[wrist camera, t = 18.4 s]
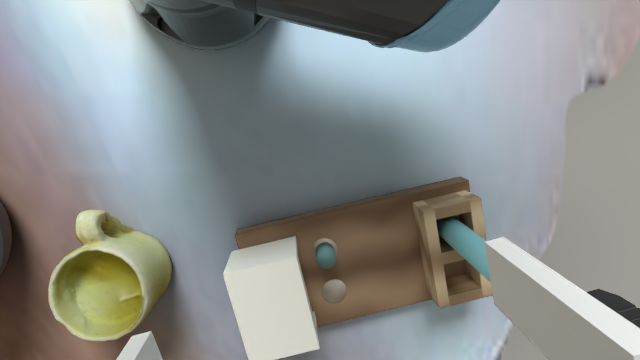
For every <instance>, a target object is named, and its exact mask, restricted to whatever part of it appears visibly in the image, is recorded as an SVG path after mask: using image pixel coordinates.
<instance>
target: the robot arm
mask: <svg viewBox="0 0 640 360" xmlns="http://www.w3.org/2000/svg"><path fill="white" fill-rule="evenodd" d="M130 1H131V3H132V4H133V6H134V7H135V9H136V10H137V11H138V13H139V14H140V15H141V16H142V17H143V18H144V19H145V20H146V21H147V22H148V23H149V24H150V25H151V26H152V27H153V28H155V29H156V30H157V31H159V32H160V33H162V34H163V35H165V36H167V37H168V38H170V39H172V40H174V41H176V42H178V43H181V44H183V45H186V46H189V47H192V48H197V49H204V50H217V49H224V48H229V47H232V46H235V45H238V44H240V43H242V42H244V41H246V40H248V39H249V38H251V37H252V36H254V35H255V34H256V33H257V32H258V31H260V30H261V29H262V28H263V27H264V25H265V24H266V23H267V22H268V20H269V19H270V18H273V19H277V20H282V21H286V22H290V23H294V24H298V25H302V26H307V27H311V28H315V29H319V30H323V31H328V32H332V33H336V34H340V35H344V36H349V37H353V38H357V39H361V40H365V41H368V42H369V43H370V44H372V45H374V46H376V47H380V48H384V47H386V48H393V47H397V48H403V49H408V50H413V51H419V52H432V51H439V50H442V49H445V48H447V47H449V46H451V45H453V44H455V43H457V42H459V41H460V40H462V39H463V38H464V37H466V36H467V35H468V34H469V33H471V32H472V31H473V30H474V29H475V28H476V27H477V26H478V25H479V24H480V23H481V22H482V21H483V20H484V19H485V18H486V17H487V16H488V15H489V14H490V12H491V11H492V10H493V9H494V8H495V6H496V5H497V4H498V3H499V2H500V0H130ZM484 243H485V249H486V256H487V262H488V268H489V274H490V280H491V287H492V293H493V299H494V304H495V305H496V306H497V307H498V308H499V310H500V311H501V312H502V313H503V314H504V315H505V316H506V317H507V318H508V319H509V320H510V321H511V322H512V323H513V324H514V325H515V326H516V327H517V328H518V329H519V330H520V331H521V332H522V333H523V334H524V335H525V336H526V337H527V338H528V339H529V341H530V342H531V343H532V344H533V345H534V346H535V347H536V348H537V349H538V350H539V351H540V352H541V353H542V354H543V355H544V356H545V357H546V358H547V359H548V360H640V308H636V306H635V305H633V304H632V303H630V302H628V301H627V300H625V299H623V298H622V297H620V296H618V295H615V294H612V293H609V292H606V291H603V290H600V289H597V290H593V291H589V292H585V291H583V290H582V289H580V288H579V287H577V286H576V285H574V284H573V283H571V282H570V281H569V280H567V279H566V278H564V277H562V276H561V275H560V274H558V273H557V272H555V271H553V270H552V269H551V268H549V267H548V266H546V265H545V264H543V263H542V262H540V261H539V260H537V259H536V258H534V257H533V256H531V255H530V254H528V253H527V252H525V251H524V250H522V249H521V248H519V247H518V246H516V245H515V244H513V243H512V242H510V241H509V240H508V239H506V238H505V237H501V238H497V239H493V240H489V241H486V242H484ZM116 360H163V359H162V356H161V354H160V351H159V349H158V346H157V344H156V341H155V339H154V336H153V334H152V331H149V332H145V333H142V334H138V335H134V336H131V338H130V339H129V341H128V342H127V344H126V346H125V347H124V349H123V350H122V352H121V353H120V355H119V356H118V358H117V359H116Z"/></svg>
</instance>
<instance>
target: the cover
mask: <svg viewBox="0 0 640 360" xmlns="http://www.w3.org/2000/svg"><path fill="white" fill-rule="evenodd" d="M223 277H224V280H225V283H226V287H227V290H228V293H229V297H230V300H231V303H232V307H233V310H234V313H235V316H236V320H237V323H238V326H239V330H240V333H241V336H242V340H243V343H244V346H245V350H246V353H247V356H248V359H249V360H276V359H280V358H284V357H288V356H292V355H296V354H300V353H304V352H308V351H313V350H317V349H320V348H319V340H318V331H317V323H316V316H315V312H314V311H313V312H312V310H311V306H310V302H309V298H308V294H307V290H306V286H305V282H304V278H303V274H302V270H301V266H300V262H299V258H298V248H297V240H296V236H294V237H290V238H286V239H281V240H277V241H273V242H269V243H264V244H260V245H256V246H252V247H248V248H243V249H239V250H235V251H232V252H231V255H230V257H229V260H228V262H227V265H226V268H225V270H224V273H223Z"/></svg>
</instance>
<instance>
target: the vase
mask: <svg viewBox="0 0 640 360" xmlns="http://www.w3.org/2000/svg"><path fill="white" fill-rule="evenodd" d="M11 245H12V231H11V225H10V221H9V218H8V215H7V212H6V210H5V208H4V206H3V204H2V203H1V201H0V275H1V274H2V272H3V270H4V268H5V266H6V264H7V262H8V259H9V256H10V252H11Z"/></svg>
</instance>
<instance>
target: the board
mask: <svg viewBox="0 0 640 360" xmlns="http://www.w3.org/2000/svg"><path fill="white" fill-rule="evenodd" d="M450 216H453V217H455V218H456V219H458V220H459V221H460V222H462V223H463V224H464V225H466V226H467V227H468V228H470V229H471V230H472V231H474V232H475V233H476V234H478V235H479V236H481V237H482V238H483V239H485V240H486V234H485V227H484V219H483V212H482V204H481V198H479V197H477V196H476V195H474V194H472V193H470V188H469V180H467V179H464V178H462V177H457V178H453V179H449V180H445V181H440V182H436V183H432V184H428V185H423V186H419V187H415V188H411V189H406V190H402V191H398V192H394V193H390V194H385V195H381V196H377V197H373V198H368V199H364V200H360V201H356V202H351V203H347V204H343V205H339V206H334V207H330V208H326V209H322V210H317V211H313V212H309V213H305V214H300V215H296V216H292V217H288V218H283V219H279V220H275V221H271V222H267V223H262V224H258V225H254V226H250V227H245V228H241V229H237V232H236V234H235V238H236V241H237V245H238V248H239V249H243V248H248V247H252V246H256V245H260V244H264V243H269V242H273V241H277V240H281V239H286V238H290V237H294V236H296V240H297V248H298V258H299V262H300V266H301V270H302V274H303V278H304V282H305V286H306V290H307V294H308V298H309V302H310V306H311V310H312V312H313V311H314V312H315V316H316V323H317V327H320V326H324V325H328V324H332V323H336V322H340V321H345V320H349V319H353V318H357V317H361V316H365V315H369V314H373V313H377V312H381V311H385V310H390V309H394V308H398V307H402V306H406V305H410V304H414V303H418V302H422V301H426V300H431V299H433V300H434V301H435V303H436V304H437V306H438V307H439V308H443V307H447V306H451V305H455V304H459V303H463V302H467V301H471V300H475V299H479V298H483V297H487V296H492V295H493V293H492V287H491V282H489V281H488V280H487V279H486V278H485V277H484V276H483V275H482V274H481V273H479V272H478V271H477V270H476V269H475V268H474V267H473V266H472V265H471V264H470V263H469V262H468V261H467V260H466V259H464V258H463V257H462V256H461V255H460V254H459V253H458V252H457V251H456V250H455V249H454V248H453V247H452V246H450V245H449V244H448V243H447V242H446V241H445V240H444V239H443V238H442V237H441V236H440V235H439V234H438V230H437V223H436V220H438V219H442V218H446V217H450Z"/></svg>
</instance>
